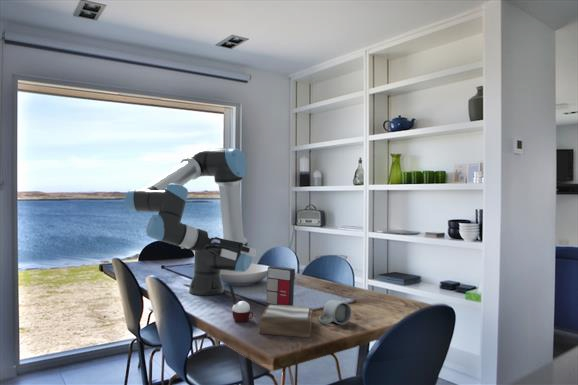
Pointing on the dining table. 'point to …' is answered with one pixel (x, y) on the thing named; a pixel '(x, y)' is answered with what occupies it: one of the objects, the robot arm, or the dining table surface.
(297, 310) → the walnut stand
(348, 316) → the ceramic mug
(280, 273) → the calculator
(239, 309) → the cocoa
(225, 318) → the dining table surface
